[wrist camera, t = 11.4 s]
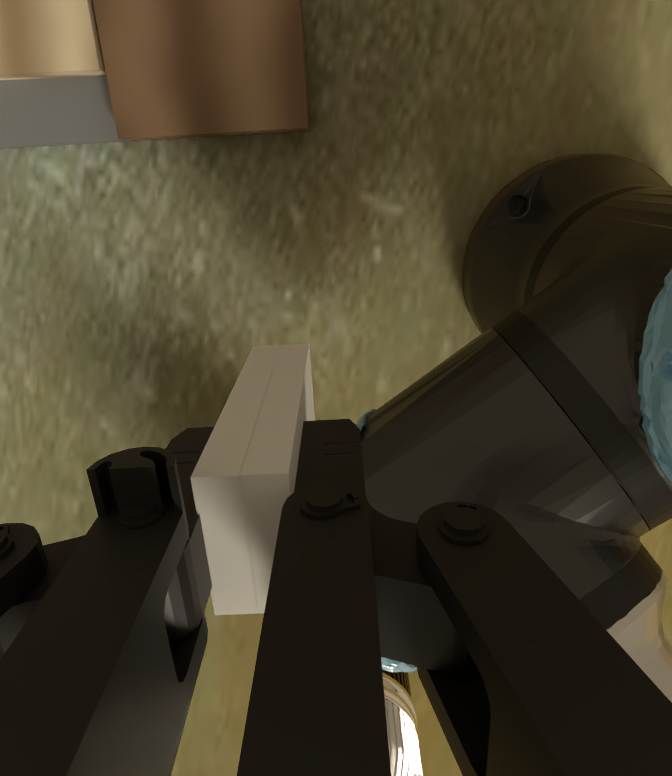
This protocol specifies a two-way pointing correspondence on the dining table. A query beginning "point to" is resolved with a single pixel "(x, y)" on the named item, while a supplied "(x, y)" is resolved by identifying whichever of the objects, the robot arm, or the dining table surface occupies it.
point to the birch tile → (49, 39)
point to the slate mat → (56, 112)
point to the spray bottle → (401, 725)
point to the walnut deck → (204, 67)
